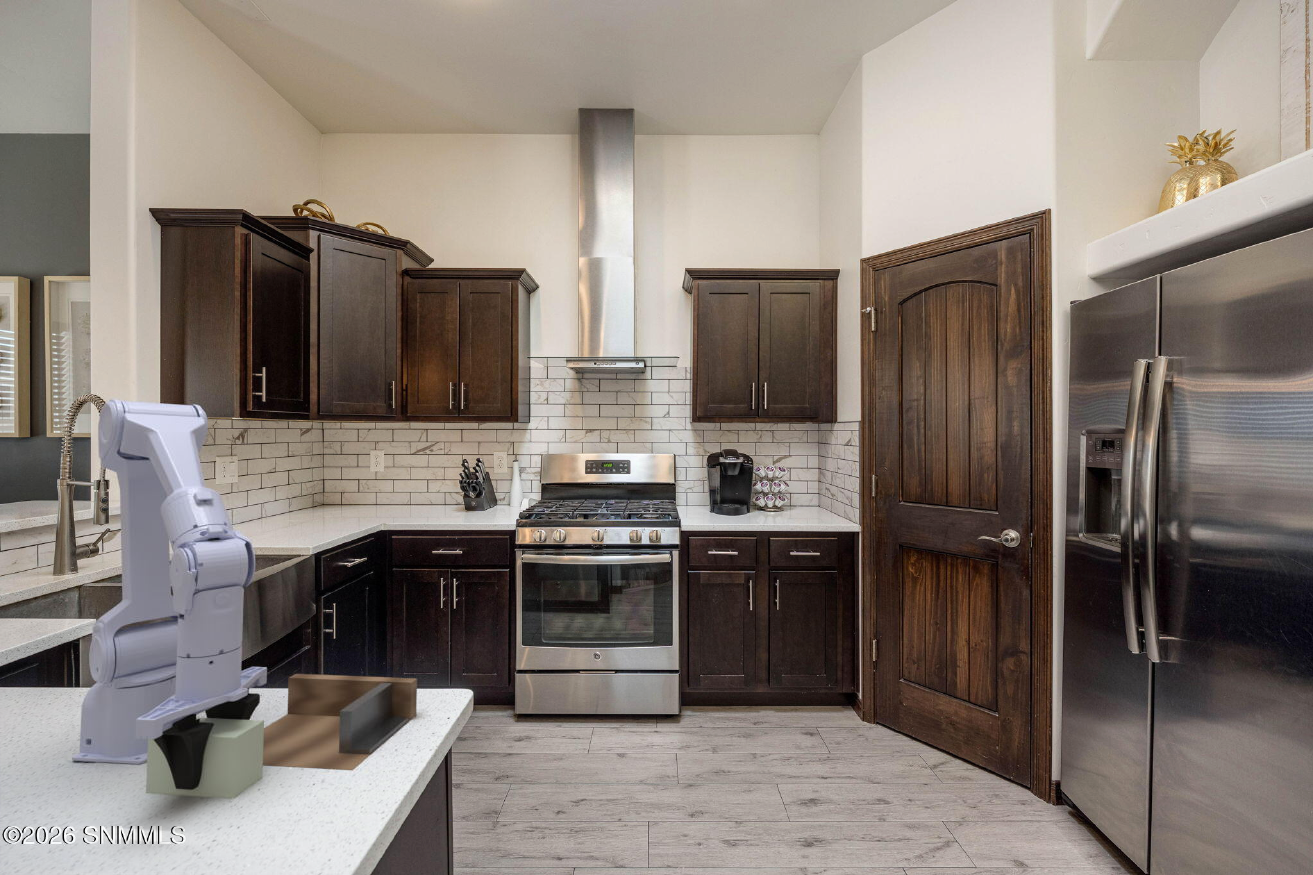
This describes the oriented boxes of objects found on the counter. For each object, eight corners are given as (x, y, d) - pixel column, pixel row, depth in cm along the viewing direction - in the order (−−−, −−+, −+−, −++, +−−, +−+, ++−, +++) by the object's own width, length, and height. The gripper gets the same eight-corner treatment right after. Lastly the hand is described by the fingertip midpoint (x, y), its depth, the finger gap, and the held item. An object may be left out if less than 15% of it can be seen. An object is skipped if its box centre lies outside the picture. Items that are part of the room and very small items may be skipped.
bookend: (339, 752, 70) (339, 710, 71) (380, 720, 79) (381, 682, 80) (369, 754, 70) (370, 712, 70) (408, 721, 79) (408, 683, 79)
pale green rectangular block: (145, 800, 62) (148, 733, 62) (179, 779, 66) (182, 716, 66) (232, 805, 61) (234, 737, 61) (262, 784, 65) (264, 720, 65)
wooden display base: (207, 770, 68) (208, 718, 68) (294, 716, 83) (296, 673, 83) (352, 778, 67) (353, 725, 67) (416, 722, 81) (417, 678, 81)
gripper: (184, 675, 56) (179, 818, 56) (291, 631, 71) (288, 745, 70) (118, 672, 57) (112, 814, 57) (237, 629, 72) (234, 742, 71)
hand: (205, 775), depth 63 cm, fingers closed on pale green rectangular block, 4 cm apart
